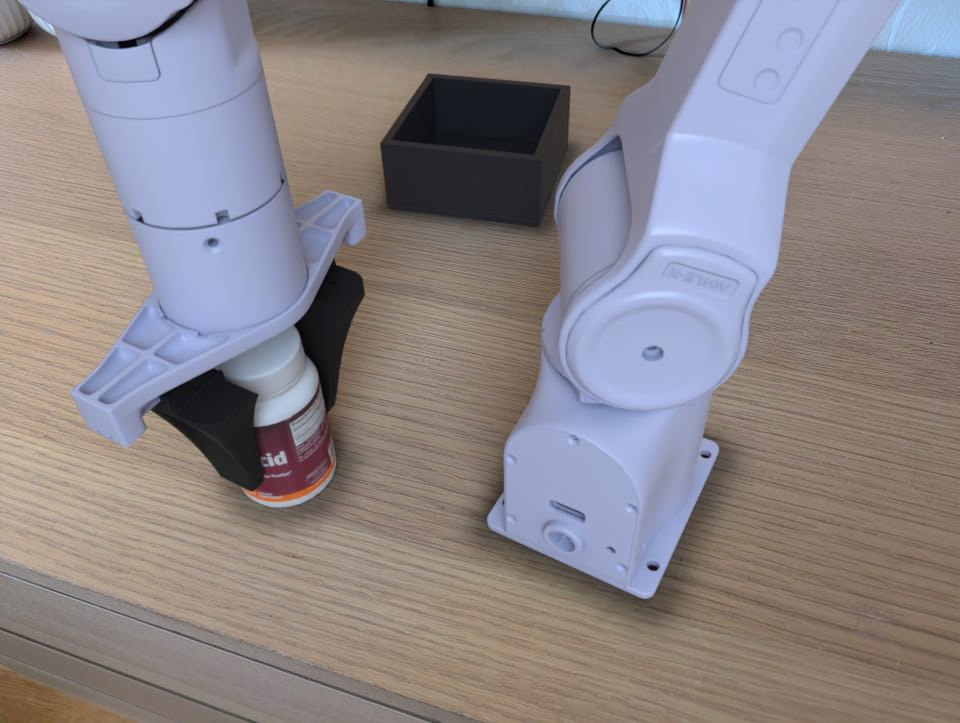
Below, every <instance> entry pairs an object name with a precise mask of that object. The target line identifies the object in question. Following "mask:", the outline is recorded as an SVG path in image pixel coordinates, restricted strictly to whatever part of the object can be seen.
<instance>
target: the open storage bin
mask: <svg viewBox="0 0 960 723" xmlns="http://www.w3.org/2000/svg"><path fill="white" fill-rule="evenodd" d="M571 89H572V85H568V84H557V83H545V82H535V81H524V80H523V81H522V80H513V79H512V80H511V79H501V78H500V79H498V78H488V77H477V76H476V77H475V76H466V75H465V76H464V75H455V74H442V73H430V72H428V73H426V75H425V77H424V79H423V80H422V82H421V83H420V84H419V86H418V87H417V89H416V90H415V92H414V93H413V95H411V97H410V99H409V100H408V102H407V104H405V106H404V108H403V109H402V111H401V112H400V114H399V115H398V116H397V117H396V120H395V121H394V122H393V124H392V125H391V127H390V128H389V129H388V131H387V132H386V133H385V135H384V136H383V138H382V139H381V141H380V142H379V147H380V148H379V149H380V155H381V164H382V172H383V179H384V180H383V181H384V188H385V197H386V204H387V205H386V206H387V209H390V210H397V211H405V212H413V213H421V214H429V215H439V216H447V217H454V218H463V219H471V220H477V221H478V220H479V221H487V222H496V223H504V224H511V225H518V226H519V225H520V226H528V227H536V228H540V226H541V224H542V221H543V218H544V215H545V212H546V210H547V207H548V205H549V201H550V199H551V196H552V193H553V190H554V188H555V184H556V182H557V179H558V176H559V174H560V170H561V168H562V165H563V162H564V159H565V156H566V153H567V152H568V148H569V129H570V128H569V127H570V111H571V110H570V106H571Z"/></svg>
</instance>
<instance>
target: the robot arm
mask: <svg viewBox="0 0 960 723" xmlns="http://www.w3.org/2000/svg"><path fill="white" fill-rule="evenodd" d="M16 1H17V2H18V3H19V4H20V5H22V6H23V7H24V8H25V9H27V10H28V11H29V12H31V13H32V14H34V15H35V16H36V17H38V18H39V19H41V20H42V21H44V22H45V23H47V24H49V25H51V26H52V28H53V31H54V33H55V36H56V39H57V41H58V44H59V46H60V49H61V52H62V54H63V57H64V60H65V63H66V64H67V67H68V69H69V73H70V75H71V77H72V80H73V82H74V85H75V89H76V90H77V91H76V92H77V93H78V96H79V99H80V100H81V103H82V105H83V109H84V111H85V114H86V116H87V118H88V121H89V123H90V126H91V129H92V131H93V135H94V137H95V139H96V142H97V144H98V147H99V150H100V153H101V155H102V157H103V161H104V162H105V165H106V168H107V170H108V173H109V176H110V178H111V180H112V184H113V186H114V189H115V191H116V193H117V194H116V195H117V197H118V199H119V202H120V204H121V207H122V209H123V211H124V214H125V217H126V219H127V222H128V225H129V228H130V231H131V233H132V235H133V237H134V240H135V243H136V245H137V248H138V251H139V253H140V257H141V259H142V261H143V264H144V266H145V270H146V272H147V274H148V277H149V280H150V282H151V284H152V287H153V290H152V291H151V292H150V294H149V295H148V297H146V299H145V301H144V302H143V303H142V305H141V306H140V307H139V309H138V310H137V311H136V313H135V315H134V316H133V317H132V318H131V320H130V322H129V323H128V324H127V326H126V327H125V328H124V330H123V331H122V332H121V333H120V335H119V337H118V338H117V339H116V341H115V342H114V344H113V345H112V346H111V347H110V349H109V350H108V352H106V355H105V356H104V357H103V358H102V360H101V361H100V362H99V363H98V365H97V366H96V367H95V368H94V369H93V370H92V371H91V372H90V373H89V374H87V376H86V377H85V378H84V379H82V380H81V381H80V382H78V384H76V385H75V386H74V387H73V388H72V389H71V390H70V391H69V395H70V397H71V399H72V400H73V403H74V404H75V406H76V408H77V410H78V412H79V414H80V416H81V417H82V419H83V421H84V424H85V425H86V427H87V428H88V430H90V431H92V432H94V433H96V434H98V435H100V436H101V437H103V438H105V439H106V440H109V441H111V442H113V443H116V444H118V445H120V446H122V447H123V448H129V447H130V446H131V445H132V444H134V443H135V442H136V441H137V440H138V439H139V438H140V437H141V436H143V435H144V434H145V432H146V431H147V429H148V428H147V425H146V422H145V420H144V416H146V414H147V413H149V412H150V411H151V412H152V413H154V414H155V415H157V416H158V417H159V418H161V419H162V420H164V421H165V422H166V423H168V424H169V425H171V426H172V427H173V428H175V429H176V430H177V431H178V432H180V433H181V435H183V436H184V437H185V438H186V439H188V441H190V442H191V443H192V444H193V445H194V446H195V447H196V448H197V449H198V451H200V452H201V453H202V454H203V455H204V457H205V458H206V459H207V460H208V462H209V463H210V465H212V467H213V468H214V469H215V471H216V472H217V474H218V475H219V477H221V478H222V479H225V480H226V481H229V482H231V483H233V484H234V485H237V486H239V487H240V488H241V487H243V488H245V489H247V490H249V491H251V492H252V491H255V490H256V489H257V488H258V487H259V486H260V485H261V484H262V482H263V479H264V472H263V466H262V463H261V459H260V456H259V453H258V449H257V446H256V442H255V436H254V411H255V405H256V401H257V398H258V395H259V394H257V393H254V392H252V391H250V390H247V389H245V388H243V387H241V386H238V385H236V384H234V383H231V382H229V381H227V380H225V377H224V374H223V371H222V370H220V369H219V370H216V369H214V367H216V366H218V365H220V364H222V363H224V362H226V361H228V360H230V359H232V358H234V357H236V356H238V355H240V354H242V353H244V352H246V351H248V350H250V349H251V348H253V347H255V346H257V345H259V344H261V343H263V342H265V341H267V340H269V339H271V338H273V337H275V336H277V335H279V334H280V333H282V332H284V331H286V330H287V329H289V328H290V327H291V326H293V325H294V326H295V327H296V329H297V330H298V332H299V335H300V338H301V341H302V345H303V349H304V353H305V355H307V356H308V357H309V358H310V360H311V361H312V362H313V364H314V365H315V367H316V368H317V371H318V375H319V380H320V386H321V390H322V395H323V399H324V404H325V408H326V413H327V414H328V413H329V412H331V411H332V409H333V408H334V407H335V405H336V401H337V395H338V387H339V379H340V372H341V365H342V360H343V354H344V353H343V352H344V348H345V344H346V341H347V337H348V334H349V331H350V328H351V324H352V323H353V320H354V318H355V315H356V313H357V311H358V309H359V307H360V305H361V303H362V302H363V300H364V298H365V296H366V290H365V285H364V279H363V277H362V275H361V274H359V272H357V271H355V270H352V269H349V268H346V267H343V266H340V265H338V264H337V263H336V258H335V257H336V255H337V253H338V251H339V249H340V247H341V245H342V243H343V244H345V245H348V246H356V245H357V244H359V242H361V241H362V240H363V239H364V238H365V237H366V236H368V230H367V225H366V218H365V210H364V204H363V200H362V199H361V198H358V197H355V196H351V195H348V194H345V193H342V192H339V191H336V190H332V189H328V188H326V189H324V190H323V191H322V192H320V193H319V194H318V195H316V196H315V197H313V198H311V199H309V200H307V201H306V202H304V203H301V204H300V205H298V206H296V207H294V203H293V199H292V197H293V196H292V193H291V190H290V189H291V188H290V186H289V185H290V184H289V181H288V180H289V179H288V175H287V171H286V167H285V162H284V158H283V153H282V149H281V148H282V147H281V144H280V139H279V135H278V134H279V133H278V129H277V126H276V121H275V116H274V112H273V107H272V102H271V98H270V92H269V88H268V84H267V79H266V73H265V70H264V65H263V61H262V60H263V59H262V55H261V51H260V46H259V44H258V41H257V39H256V36H255V32H254V28H253V24H252V18H251V14H250V9H249V5H248V0H16ZM901 1H902V0H692V1H691V3H690V5H689V7H688V9H687V11H686V13H685V15H684V17H683V19H682V18H681V19H682V21H681V20H680V23H679V25H678V28H677V29H676V32H675V34H674V35H673V38H672V40H671V42H670V43H669V46H668V48H667V50H666V53H665V54H664V57H663V58H662V61H661V63H660V64H659V67H658V68H657V71H656V73H655V75H654V76H653V78H651V79H649V81H648V82H646V83H645V84H643V85H641V86H639V87H638V88H637V89H634V90H633V91H631V93H629V94H627V96H625V97H624V98H623V100H622V101H621V104H620V105H619V108H618V110H617V112H616V115H615V117H614V118H613V121H612V122H611V124H610V126H609V127H608V128H607V130H606V131H605V132H604V134H603V135H602V136H601V137H600V138H599V139H598V140H597V142H595V143H594V144H592V146H590V147H589V148H587V149H586V150H585V151H583V152H582V153H581V154H580V155H579V156H577V157H576V158H575V159H574V160H573V161H572V163H571V164H570V165H568V167H567V168H566V169H565V172H564V173H563V174H562V176H561V178H560V179H559V180H560V181H559V182H558V184H557V187H556V189H555V194H554V199H553V218H554V223H555V225H556V229H557V233H558V262H559V264H558V265H559V291H558V292H557V293H556V294H555V296H554V298H553V299H552V300H551V301H550V303H549V305H548V306H547V308H546V310H545V313H544V315H543V317H542V322H541V332H540V333H541V334H540V335H541V336H540V337H541V338H540V339H541V340H540V341H541V342H540V359H539V370H538V374H537V380H536V384H535V387H534V389H533V392H532V395H531V397H530V400H529V402H528V404H527V406H526V407H525V409H524V410H523V412H522V414H521V416H520V417H519V419H518V421H517V422H516V423H515V425H514V427H513V428H512V429H511V431H510V433H509V434H508V436H507V439H506V441H505V443H504V448H503V492H502V493H501V494H500V496H499V497H498V499H497V500H496V502H495V503H494V505H493V506H492V508H491V509H490V511H489V512H488V513H487V516H486V523H487V524H486V525H487V527H488V529H489V530H491V531H493V532H494V533H496V534H499V535H501V536H503V537H505V538H507V539H510V540H512V541H514V542H516V543H518V544H521V545H523V546H524V547H528V548H530V549H531V550H534V551H536V552H538V553H539V554H542V555H545V556H546V557H550V558H551V559H553V560H556V561H558V562H561V563H563V564H565V565H567V566H569V567H571V568H573V569H576V570H578V571H580V572H582V573H584V574H587V575H588V576H591V577H593V578H596V579H598V580H599V581H602V582H604V583H607V584H609V585H611V586H613V587H615V588H617V589H619V590H622V591H624V592H626V593H628V594H631V595H633V596H635V597H637V598H639V599H643V600H645V599H646V600H647V599H650V598H652V597H653V596H654V595H655V593H656V592H657V589H658V587H659V586H660V583H661V581H662V579H663V576H664V574H665V572H666V570H667V568H668V566H669V564H670V561H671V559H672V557H673V555H674V553H675V550H676V548H677V546H678V543H679V541H680V540H681V537H682V535H683V532H684V530H685V528H686V526H687V524H688V522H689V520H690V517H691V515H692V513H693V511H694V508H695V506H696V505H697V502H698V500H699V499H700V495H701V493H702V491H703V489H704V487H705V484H706V482H707V481H708V478H709V477H710V474H711V472H712V469H713V467H714V464H715V463H716V460H717V458H718V456H719V453H720V446H719V444H718V443H717V442H716V441H714V440H711V439H709V438H706V437H704V433H705V429H706V426H707V425H706V424H707V420H708V417H709V413H710V408H711V405H712V400H713V396H714V392H715V390H716V389H718V388H719V387H720V386H722V385H723V384H724V383H725V382H726V381H727V380H728V379H729V378H731V377H732V376H733V374H734V373H735V372H736V371H737V369H738V368H739V367H740V365H741V363H742V361H743V359H744V357H745V355H746V352H747V349H748V344H749V337H750V336H749V335H750V334H749V333H750V321H751V320H750V319H751V315H752V312H753V310H754V307H755V304H756V302H757V300H758V299H759V297H760V295H761V293H762V292H763V290H764V289H765V287H766V286H767V285H768V283H769V282H770V280H771V279H772V278H773V276H774V275H775V273H776V271H777V267H778V262H779V257H780V251H781V243H782V235H783V227H784V219H785V212H786V203H787V196H788V190H789V182H790V177H791V172H792V168H793V166H794V163H795V162H796V160H797V159H798V157H799V156H800V155H801V153H802V151H803V150H804V148H805V147H806V145H807V143H808V142H809V140H810V139H811V138H812V136H813V134H814V133H815V132H816V130H817V128H819V125H820V124H821V123H822V121H823V119H824V118H825V117H826V115H827V113H828V112H829V110H830V109H831V107H832V106H833V104H834V103H835V102H836V99H837V98H838V96H839V95H840V94H841V92H842V91H843V89H844V87H845V86H846V85H847V83H848V81H849V80H850V78H851V77H852V76H853V74H854V72H855V71H856V70H857V68H858V67H859V65H860V63H861V62H862V60H863V59H864V57H865V56H866V54H867V53H868V51H869V50H870V48H871V47H872V45H873V43H874V42H875V41H876V40H877V38H878V36H879V34H880V33H881V32H882V30H883V29H884V27H885V26H886V24H887V23H888V21H889V20H890V18H891V17H892V15H893V13H894V12H895V10H896V9H897V8H898V6H899V4H900V3H901ZM704 456H706V457H704ZM650 566H654V567H655V568H656V569H657V570H652V569H650V568H649V567H650Z"/></svg>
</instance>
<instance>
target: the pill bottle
mask: <svg viewBox="0 0 960 723" xmlns="http://www.w3.org/2000/svg"><path fill="white" fill-rule="evenodd" d="M214 369H216V370H219V369H220V370H222V371H223V374H224V377H225V380H227V381H229V382H231V383H234V384H236V385H238V386H241V387H243V388H245V389H247V390H250V391H252V392H254V393H257V394H259V395H258V398H257V401H256V405H255V411H254V436H255V442H256V446H257V449H258V453H259V456H260V459H261V463H262V466H263V472H264V479H263V482H262V484H261V485H260V486H259V487H258V488H257V489H256V490H255V491H252V492H251V491H249V490H247V489H245V488H243V487H241V486H240V488H241V490H242V491H243V492H244V494H245V495H246V496H247V497H248V498H249V499H251V500H252V501H254V502H255V503H258V504H259V505H262V506H266V507H269V508H288V507H294V506H297V505H301V504H303V503H305V502H307V501H309V500H311V499H313V498H315V497H316V496H317V495H319V494H320V493H321V492H322V491H323V490H325V488H326V487H327V486H328V484H329V483H330V482H331V481H332V479H333V477H334V474H335V471H336V468H337V455H336V450H335V445H334V441H333V436H332V431H331V426H330V422H329V417H328V413H326V408H325V404H324V399H323V395H322V390H321V386H320V380H319V375H318V371H317V368H316V367H315V365H314V364H313V362H312V361H311V360H310V358H309V357H308V356H307V355H305V353H304V349H303V345H302V341H301V338H300V335H299V332H298V330H297V329H296V327H295V326H294V325H293V326H291V327H290V328H289V329H287V330H286V331H284V332H282V333H280V334H279V335H277V336H275V337H273V338H271V339H269V340H267V341H265V342H263V343H261V344H259V345H257V346H255V347H253V348H251V349H250V350H248V351H246V352H244V353H242V354H240V355H238V356H236V357H234V358H232V359H230V360H228V361H226V362H224V363H222V364H220V365H218V366H216V367H214Z"/></svg>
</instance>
